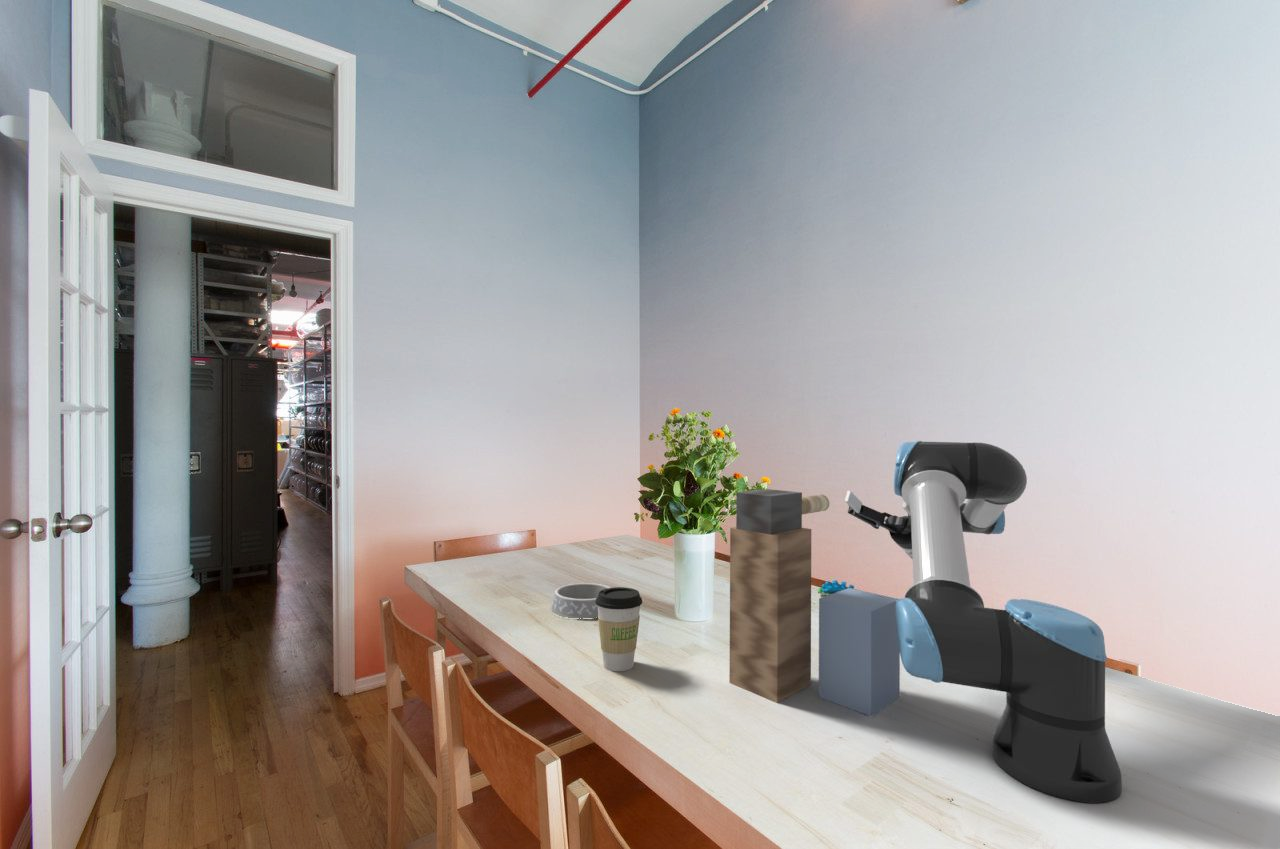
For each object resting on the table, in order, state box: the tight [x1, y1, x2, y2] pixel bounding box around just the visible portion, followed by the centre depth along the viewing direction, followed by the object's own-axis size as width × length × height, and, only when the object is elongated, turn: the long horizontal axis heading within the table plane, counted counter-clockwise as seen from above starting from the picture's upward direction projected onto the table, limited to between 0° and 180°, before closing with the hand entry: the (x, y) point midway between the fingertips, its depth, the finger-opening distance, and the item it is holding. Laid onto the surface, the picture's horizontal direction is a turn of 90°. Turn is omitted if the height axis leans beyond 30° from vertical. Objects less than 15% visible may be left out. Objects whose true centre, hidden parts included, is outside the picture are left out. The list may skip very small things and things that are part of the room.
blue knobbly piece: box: [817, 579, 858, 598], centre depth 162 cm, size 11×6×10 cm
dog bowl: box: [550, 582, 611, 619], centre depth 157 cm, size 17×18×5 cm
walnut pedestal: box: [728, 526, 812, 704], centre depth 112 cm, size 11×11×30 cm
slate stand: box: [818, 587, 901, 717], centre depth 106 cm, size 10×11×18 cm
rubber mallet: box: [735, 488, 830, 535], centre depth 116 cm, size 8×24×7 cm, turn 132°
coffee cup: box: [595, 586, 643, 672], centre depth 120 cm, size 10×10×15 cm
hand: (875, 498), depth 132 cm, fingers open, 13 cm apart
